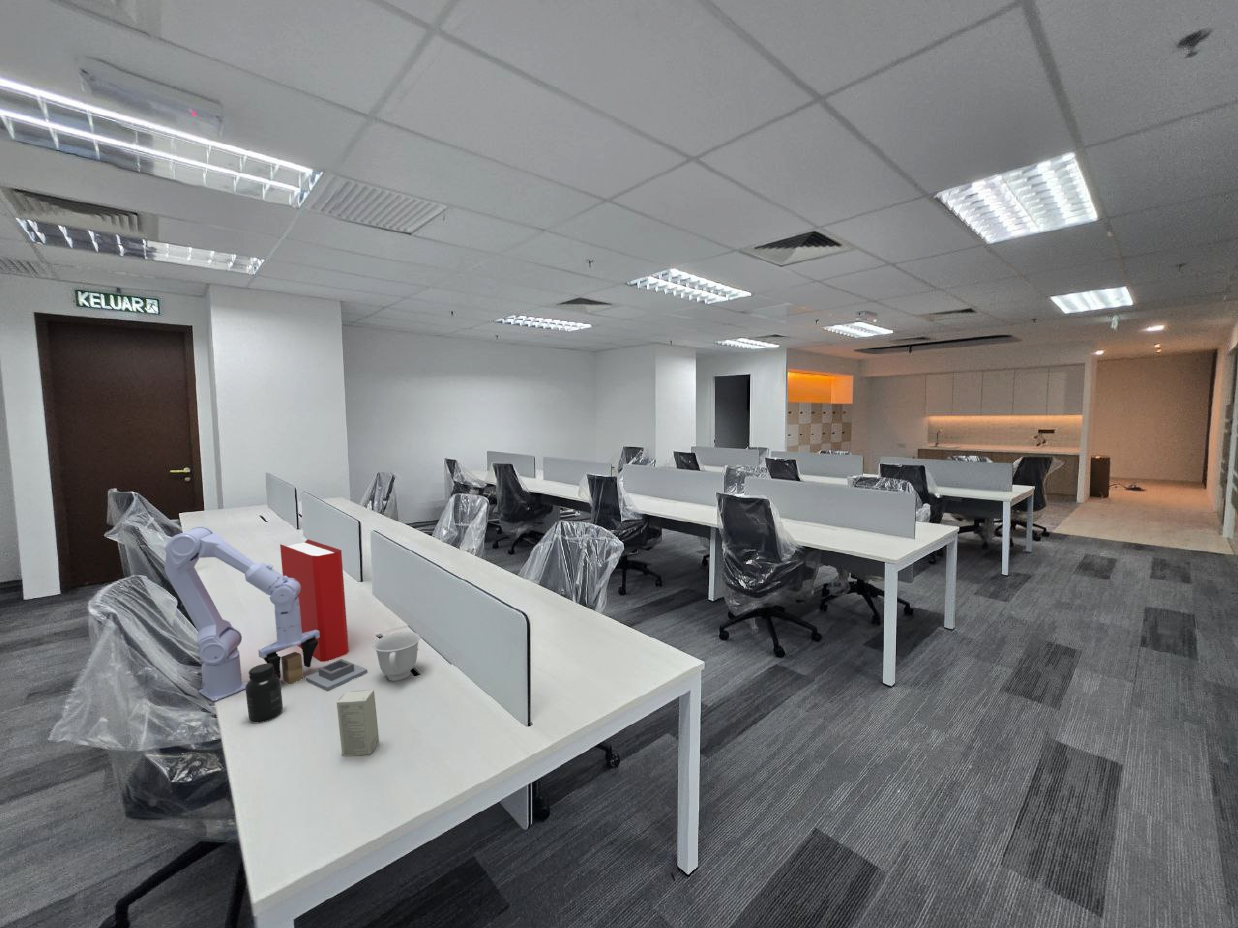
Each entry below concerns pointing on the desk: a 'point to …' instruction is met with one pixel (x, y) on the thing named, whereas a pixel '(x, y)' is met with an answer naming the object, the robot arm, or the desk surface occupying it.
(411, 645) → the teacup
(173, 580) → the robot arm
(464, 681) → the desk surface
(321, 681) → the stand
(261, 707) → the supplement bottle
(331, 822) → the desk surface
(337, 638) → the book
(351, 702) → the skincare box
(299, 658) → the oak peg
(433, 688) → the desk surface
